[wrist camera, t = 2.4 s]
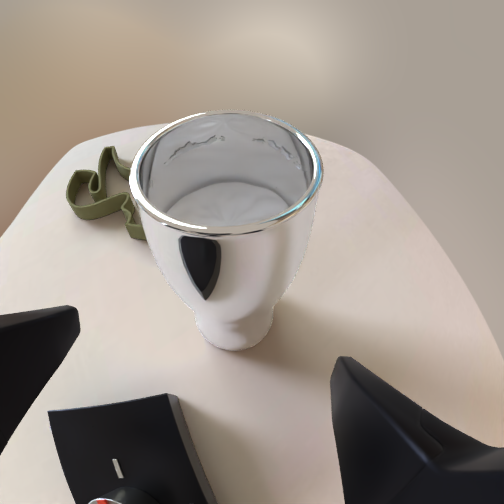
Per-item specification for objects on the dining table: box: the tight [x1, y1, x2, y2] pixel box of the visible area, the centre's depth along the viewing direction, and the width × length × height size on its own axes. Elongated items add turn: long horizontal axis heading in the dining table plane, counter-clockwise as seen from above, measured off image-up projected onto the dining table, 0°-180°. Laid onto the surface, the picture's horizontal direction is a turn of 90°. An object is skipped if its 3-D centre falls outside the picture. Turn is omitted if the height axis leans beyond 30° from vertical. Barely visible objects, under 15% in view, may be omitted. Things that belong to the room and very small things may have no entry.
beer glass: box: [129, 110, 323, 351], centre depth 15 cm, size 7×7×15 cm
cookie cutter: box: [66, 146, 147, 240], centre depth 27 cm, size 18×12×2 cm, turn 83°
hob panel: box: [48, 393, 218, 504], centre depth 13 cm, size 12×10×3 cm
